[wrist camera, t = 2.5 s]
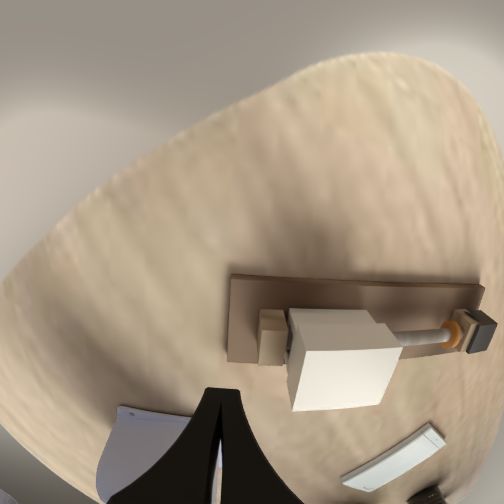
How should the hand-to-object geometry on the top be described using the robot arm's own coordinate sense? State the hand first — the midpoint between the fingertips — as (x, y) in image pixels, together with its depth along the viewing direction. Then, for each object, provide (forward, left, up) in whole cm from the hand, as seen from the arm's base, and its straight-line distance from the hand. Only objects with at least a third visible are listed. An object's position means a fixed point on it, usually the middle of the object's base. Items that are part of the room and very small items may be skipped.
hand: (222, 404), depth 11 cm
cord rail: (+10, 0, -8) cm, 13 cm away
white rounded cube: (+6, 0, -6) cm, 9 cm away
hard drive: (+21, -21, -8) cm, 31 cm away
